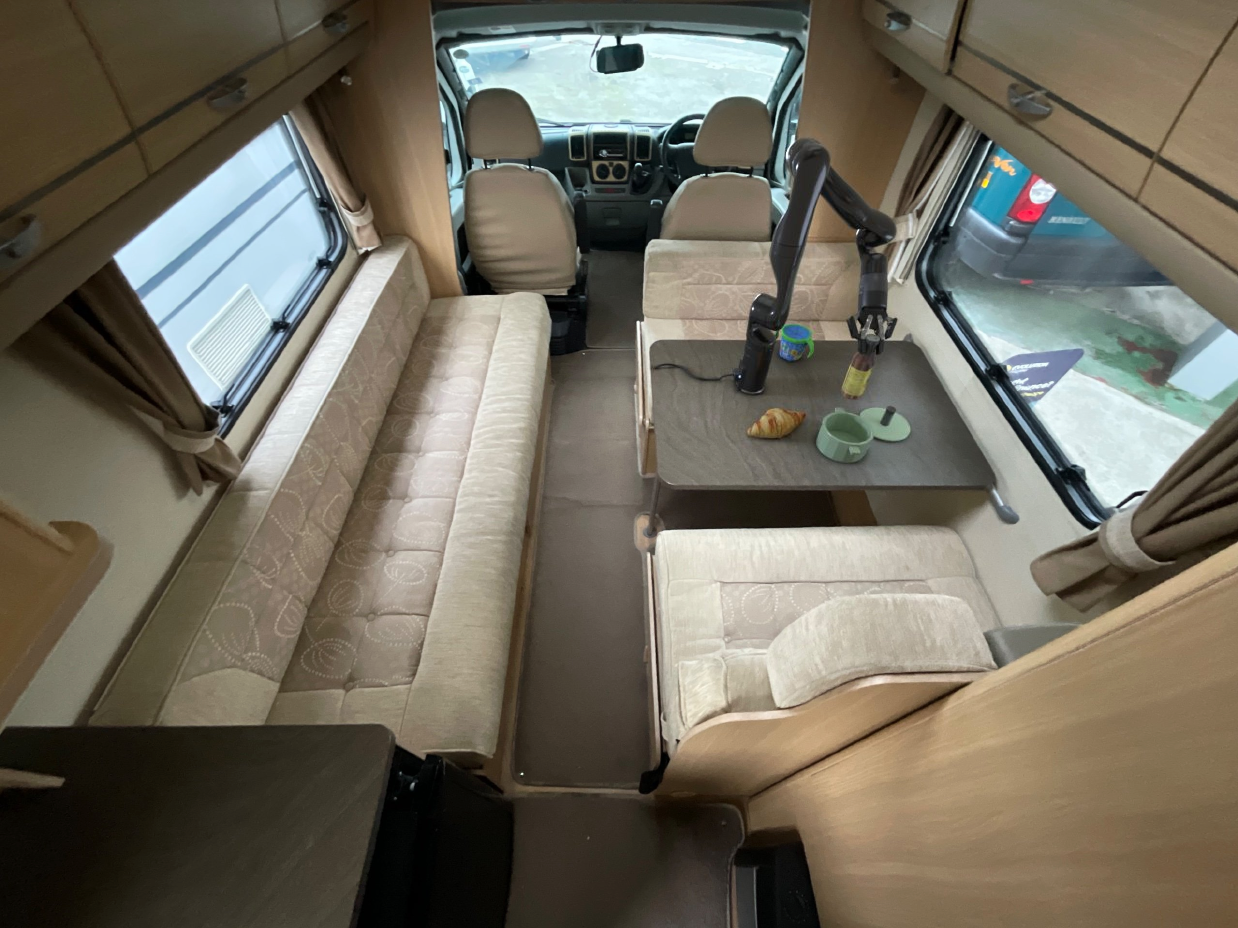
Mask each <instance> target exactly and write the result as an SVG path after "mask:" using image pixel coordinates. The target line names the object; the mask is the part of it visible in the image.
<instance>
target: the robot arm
mask: <svg viewBox="0 0 1238 928" xmlns="http://www.w3.org/2000/svg"><path fill="white" fill-rule="evenodd" d="M831 157H832V156H831V154H830V151H829V150H828V149H827V147H826V146H825V145H823V143H821V142H820V141H819V140H818V139H815V138H814V137H810V136H803V137H799V138H798V139H796V140H794V141H793V142H792V143H791V144H790V145H789V147H788V148H787V151H786V154H785V166H786V168H787V170H788V172H789V174H790V175H791V176H792V177H793V179H792V180H793V181H792V189H791V194H790V198H789V201H788V205H787V208H786V210H785V211H784V213H783V214H782V216H781V217H780V219H779V221H778V222H777V224H776V225H775V226H776V227H775V228H774V230H773V234H772V238H771V242H770V247H769V252H768V253H769V254H768V257H769V263H770V266H771V271H772V273H773V277H774V280H775V285H776V296H774V295H772V294H768V293H765V292H761V293H759V294H757V295H756V296H755V297H754V299H753V301H752V302H751V306H750V309H749V312H748V319H747V325H746V331H745V338H746V339H745V344H744V348H743V353H742V356H741V357H740V358H739V363H738V367H733V369H732V373H727V374H723V375H721V376H720V377H715V378H705V377H700V376H697V375H694V374H693V373H691V372H690V371H689V370H688V369H687V368H686V367H684V366H683V365H679V364H675V363H668V362H667V363H666V362H664V363H660V364H657V365H656V366H653V370H656V369H658V368H660V367H664V366H665V367H666V366H669V367H670V366H671V367H675V368H679V369H681V370H683V371H684V372H685V373H687V375H689V376H690V377H691V378H693V379H696V380H700V381H706V382H711V381H712V382H713V381H714V382H715V381H716V382H717V381H721V380H722V379H723V378H727V377H732V379H733V382H735V383H736V385H735V386H736V390H737V392H741V393H743V394H746V395H750V396H755V395H759V394H761V393H762V392H764V390H765V386H766V381H767V378H768V374H769V370H770V366H771V363H772V362H771V361H772V359H773V355H774V351H775V347H776V343H777V339H776V336H775V335H774V334H775V332H776V331H779V332H780V331H781V330H782V328H783V326H786V323H787V321H788V319H789V315H790V312H791V307H792V302H793V298H794V297H793V296H794V291H795V285H796V281H797V277H798V274H799V269H800V266H801V263H802V259H803V256H804V253H805V249H806V245H807V242H808V237H809V233H810V229H811V225H812V222H813V219H814V215H815V210H816V207H817V203H818V201H819V198H820V197H822V199H823V200H824V201H825V202H826V203H827V205H828V206H829V207H830V209H831V210H832V211H833V212H834V213H835V214H836V215H837V217H838V218H840V220H841V221H842V222H843V223H844V224H845V225H846V226H847V227H849V229H851V230H854V231H856V233H855V236H854V241H855V246H856V249H857V253H858V258H859V263H860V268H859V269H860V271H859V272H860V273H859V275H860V276H859V283H858V294H857V295H858V296H857V313H856V315H854V316H853V315H851V316H849V317H848V318H846V320H845V321H846V325H847V328H848V331H849V335H850V338H851V339H853V340H856V341H857V352H859V353H860V354H864V353H865V346H866V340H865V337H866V335H867V334H868V332H869V330H872V331H873V334H874V335H877V336H878V337H879V338H880V341H879V343H878V345H877V347H876V349H875V356H879V355H882V353H884V351H885V348H884V347H885V341H886V340H888V339H890V338H892V336H893V334H894V331H895V328H896V326H897V323H898V321H899V319H898V318H897V317H891V316H889V314H888V311H887V310H888V299H889V297H888V295H889V278H888V274H889V273H888V272H889V271H888V270H889V257H888V255H887V254H886V253H883V252H874V249H875V248H879V247H881V246H885V245H887V244H890V243H891V242H893V241H894V240H895V238H896V236H897V233H898V229H897V225H896V222H895V220H894V219H893V218H892V217H891V216H889V215H888V214H886V213H885V212H883V211H881V210H879V209H877V208H875V207H873V206H871V205H870V203H868V201H867V200H866V199H865V198H864V197H863V196H862V195H861V194H860V193H859V192H858V191H857V190H856V189H855V188H854V187H853V186H852V185H851V184H850V183H849V182H847V181H846V180H845V179H844V178H843V177H842V175H840V174H839V173H838V172H837V171H836V169H835V168H833V166H832V165H831V163H832V158H831ZM857 322H858V324H859V325H860V327H859V330H858V327H857V326H858V325H857ZM885 323H886V329H885V327H884V324H885Z"/></svg>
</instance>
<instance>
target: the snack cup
mask: <svg viewBox="0 0 1238 928" xmlns="http://www.w3.org/2000/svg"><path fill="white" fill-rule="evenodd" d="M774 335H775V336H776V340H778V339H779V337H780V336H781V338H780V347H779V356H780V357H781V358H782V359H784V360H787V361H788V362H791V361H793V362H794V361H799V359H800V358H801V357H802V355H803V353H804V351H805V350H806V347H807V346H808V347H809V352H808V355H807V356H806V358H807V359H808V358H810V357H812V355H813V354H814V351H815V350H814V349H815V345H814V341H813V339H812V336H813V333H812V331H811V330H810V329H809V328H808V327H806V326H804V325H802V324H798V323H788V324H785V325H784V326H783V328H782V329H781V330H779V331H774Z"/></svg>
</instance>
